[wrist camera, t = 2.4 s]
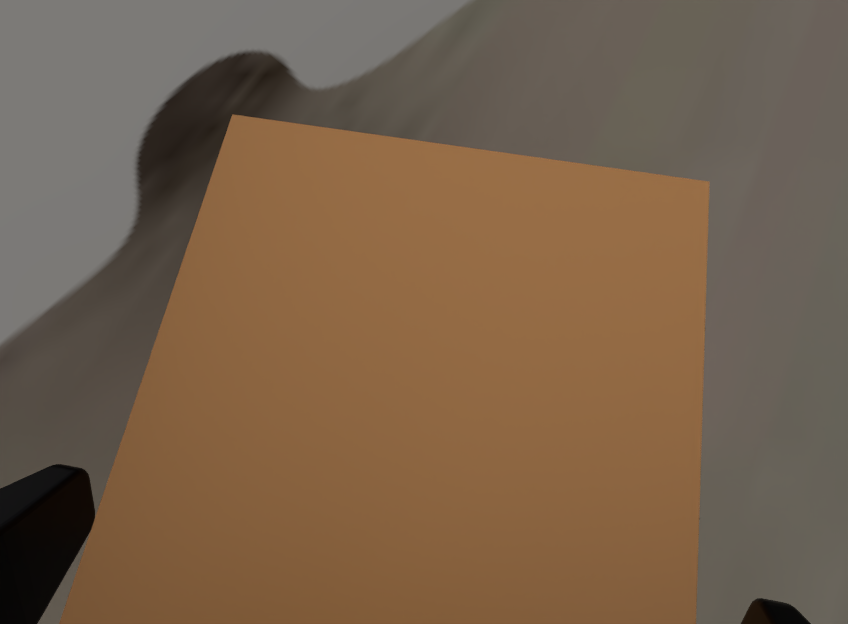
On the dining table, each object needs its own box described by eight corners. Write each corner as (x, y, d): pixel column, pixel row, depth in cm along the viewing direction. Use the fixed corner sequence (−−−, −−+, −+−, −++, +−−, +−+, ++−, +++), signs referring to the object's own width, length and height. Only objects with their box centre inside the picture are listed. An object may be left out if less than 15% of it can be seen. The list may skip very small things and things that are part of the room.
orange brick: (508, 596, 16) (690, 762, 5) (325, 559, 17) (58, 625, 5) (531, 411, 18) (709, 181, 6) (363, 382, 18) (232, 114, 7)
